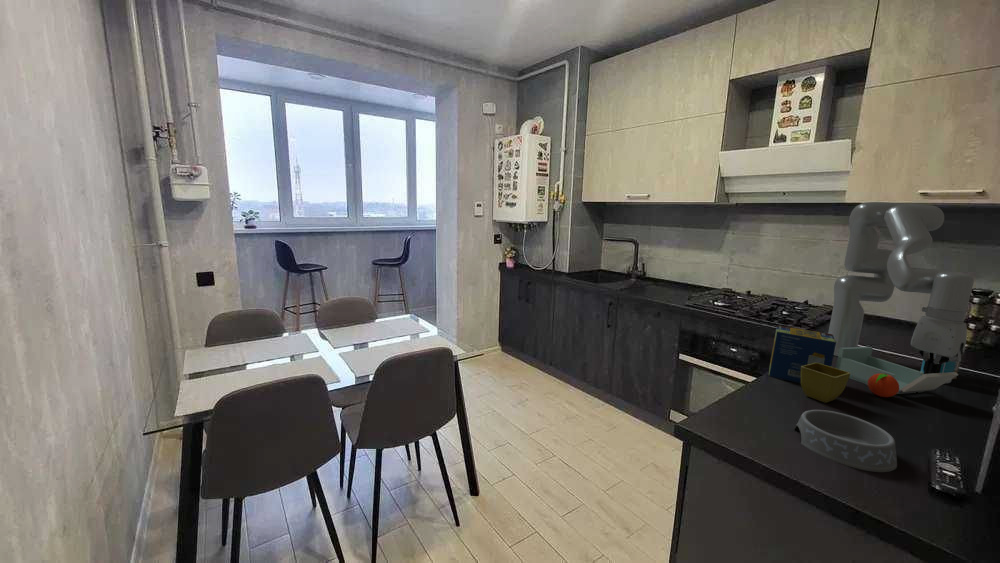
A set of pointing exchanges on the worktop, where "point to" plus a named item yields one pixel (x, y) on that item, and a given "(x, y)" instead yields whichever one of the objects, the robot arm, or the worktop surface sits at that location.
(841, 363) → the grey-green open bin
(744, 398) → the worktop surface
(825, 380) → the flower pot
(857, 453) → the dog bowl
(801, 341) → the protein box
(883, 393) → the clementine
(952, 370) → the pill bottle
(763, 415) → the worktop surface
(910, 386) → the panel
